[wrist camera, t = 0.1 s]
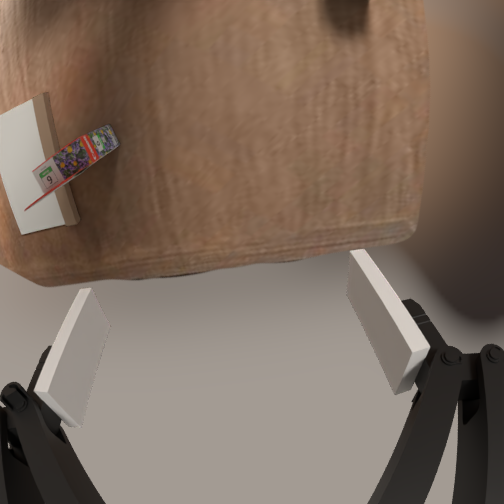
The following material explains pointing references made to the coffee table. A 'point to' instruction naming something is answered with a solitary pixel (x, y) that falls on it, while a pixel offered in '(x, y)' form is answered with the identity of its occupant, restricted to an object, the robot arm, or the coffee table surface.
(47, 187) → the white cardboard box
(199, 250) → the coffee table surface
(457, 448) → the robot arm
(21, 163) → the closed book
